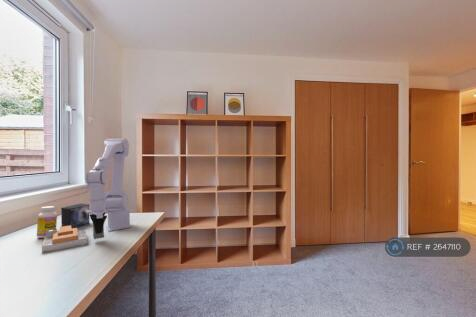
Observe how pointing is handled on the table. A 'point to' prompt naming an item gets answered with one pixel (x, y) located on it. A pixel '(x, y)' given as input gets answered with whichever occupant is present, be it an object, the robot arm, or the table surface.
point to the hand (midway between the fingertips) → (98, 231)
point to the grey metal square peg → (98, 234)
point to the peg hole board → (48, 245)
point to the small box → (75, 215)
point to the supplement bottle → (46, 221)
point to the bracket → (65, 234)
